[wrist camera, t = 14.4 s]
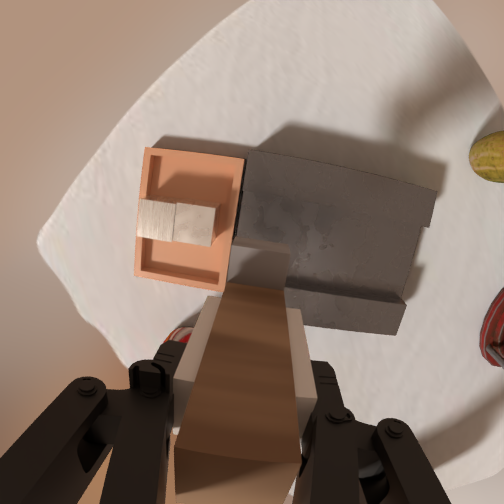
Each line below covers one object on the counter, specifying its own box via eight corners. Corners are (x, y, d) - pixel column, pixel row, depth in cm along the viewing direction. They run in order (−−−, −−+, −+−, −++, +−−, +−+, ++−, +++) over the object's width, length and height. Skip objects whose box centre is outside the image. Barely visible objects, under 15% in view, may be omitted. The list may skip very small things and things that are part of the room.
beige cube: (171, 242, 33) (136, 236, 33) (181, 233, 37) (149, 228, 37) (176, 204, 32) (139, 198, 32) (185, 199, 36) (152, 194, 36)
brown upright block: (268, 349, 20) (264, 537, 8) (221, 342, 20) (177, 525, 8) (288, 244, 18) (325, 406, 6) (235, 236, 18) (174, 385, 6)
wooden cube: (216, 237, 37) (210, 247, 33) (182, 232, 37) (172, 240, 33) (221, 203, 36) (215, 208, 32) (186, 197, 36) (176, 202, 32)
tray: (226, 285, 39) (224, 292, 37) (139, 270, 39) (134, 275, 37) (245, 159, 35) (244, 159, 33) (151, 147, 35) (144, 147, 33)
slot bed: (383, 316, 39) (395, 335, 35) (229, 294, 39) (224, 312, 35) (417, 186, 35) (437, 191, 30) (251, 151, 35) (249, 149, 30)
